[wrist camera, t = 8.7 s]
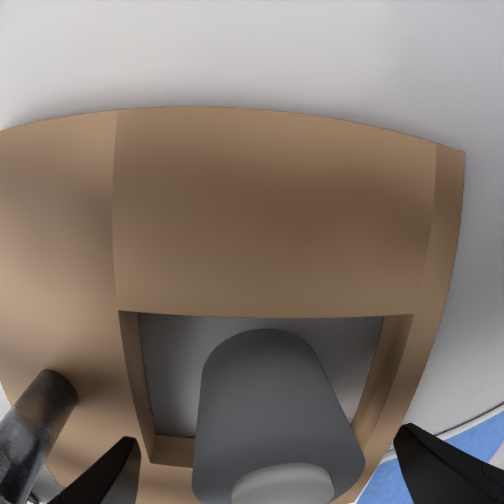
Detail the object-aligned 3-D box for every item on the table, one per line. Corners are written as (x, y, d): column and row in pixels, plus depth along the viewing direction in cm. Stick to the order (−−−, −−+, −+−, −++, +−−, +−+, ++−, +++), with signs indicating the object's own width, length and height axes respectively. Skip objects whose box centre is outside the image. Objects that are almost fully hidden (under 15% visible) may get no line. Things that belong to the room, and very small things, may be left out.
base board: (346, 481, 14) (354, 502, 12) (68, 466, 13) (59, 485, 11) (433, 154, 10) (464, 152, 8) (-7, 143, 8) (-35, 141, 6)
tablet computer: (331, 521, 17) (334, 531, 16) (369, 449, 14) (376, 463, 13) (478, 463, 19) (483, 469, 17) (528, 381, 16) (536, 387, 15)
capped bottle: (309, 416, 12) (344, 520, 6) (203, 418, 12) (197, 531, 6) (327, 328, 11) (398, 438, 5) (200, 327, 11) (180, 457, 5)
